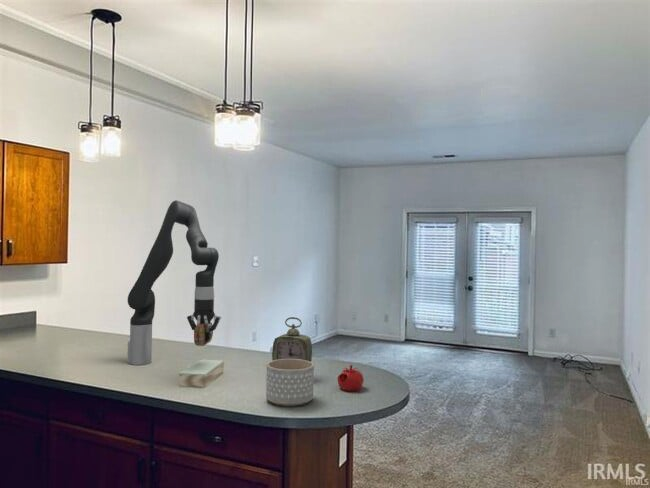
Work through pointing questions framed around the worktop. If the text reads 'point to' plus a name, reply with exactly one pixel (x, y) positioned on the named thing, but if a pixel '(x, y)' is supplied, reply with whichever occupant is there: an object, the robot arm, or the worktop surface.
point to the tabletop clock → (292, 345)
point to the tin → (201, 335)
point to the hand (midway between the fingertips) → (203, 341)
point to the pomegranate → (350, 379)
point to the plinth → (201, 373)
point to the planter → (289, 381)
